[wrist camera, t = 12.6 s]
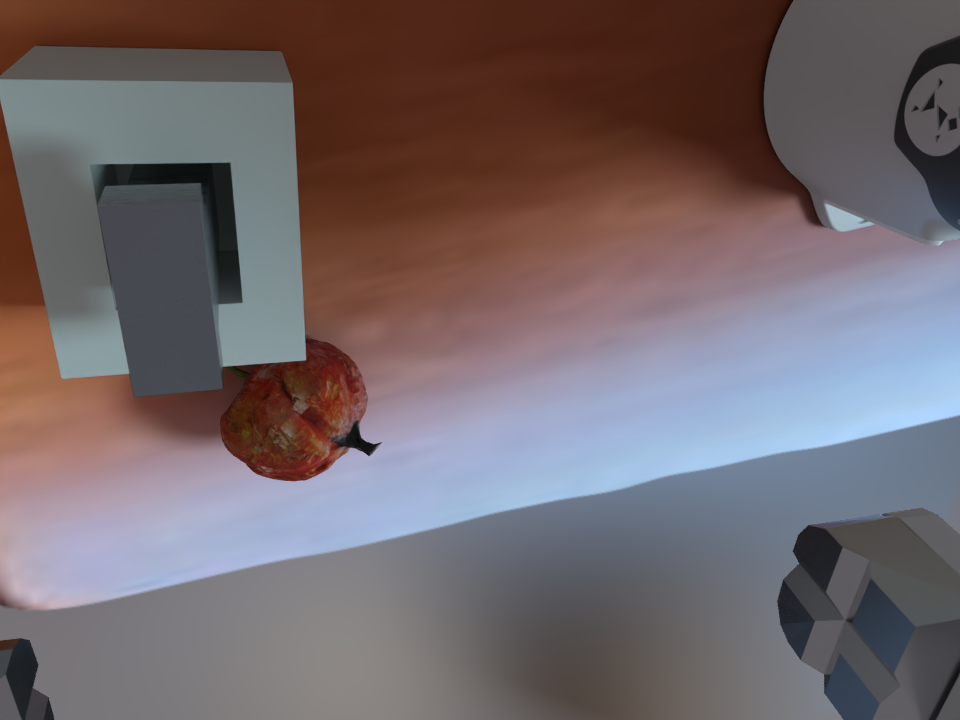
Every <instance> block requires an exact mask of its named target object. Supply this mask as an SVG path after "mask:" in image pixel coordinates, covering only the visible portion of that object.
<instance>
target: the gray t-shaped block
mask: <svg viewBox="0 0 960 720" xmlns="http://www.w3.org/2000/svg"><path fill="white" fill-rule="evenodd" d="M98 212H99V217H100V222H101V227H102V233H103V238H104V243H105V248H106V254H107V259H108V264H109V269H110V275H111V280H112V285H113V290H114V296H115V301H116V306H117V311H118V317H119V322H120V327H121V332H122V338H123V343H124V348H125V353H126V359H127V364H128V369H129V374H130V380H131V385H132V390H133V395H134V397H143V396H153V395H164V394H175V393H185V392H196V391H207V390H217V389H223V359H222V351H221V343H220V335H219V223H218V215H217V206H216V197H215V189H214V180H213V171H212V163H159V164H134V166H133V169H132V172H131V175H130V178H129V181H128V184H127V185H120V186H105V188H104V190H103V193H102V196H101V198H100V201H99V203H98Z"/></svg>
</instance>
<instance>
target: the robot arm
mask: <svg viewBox="0 0 960 720" xmlns="http://www.w3.org/2000/svg"><path fill="white" fill-rule="evenodd" d="M764 113H765V121H766V126H767V131H768V134H769V138H770V141H771V143H772V146H773V148H774V150H775V152H776V154H777V156H778V157H779V159H780V161H781V162H782V163H783V165H784V166H785V167H786V168H787V170H788V171H789V172H790V173H791V174H792V175H794V176H795V177H796V178H797V179H798V180H799V181H800V182H801V183H802V184H803V185H804V186H805V187H806V188H807V189H808V191H809V192H810V194H811V197H812V201H813V204H814V207H815V210H816V213H817V216H818V218H819V220H820V222H821V223H822V224H823V225H824V226H825V227H827V228H830V229H832V230H835V231H838V232H846V231H850V230H854V229H858V228H862V227H866V226H870V225H874V224H876V225H879V226H881V227H884V228H886V229H888V230H891V231H893V232H896V233H898V234H901V235H903V236H906V237H908V238H911V239H913V240H915V241H918V242H920V243H923V244H927V245H934V246H937V245H940V244H941V243H942V242H943V241H949V240H955V239H959V238H960V0H793V2H792V4H791V6H790V7H789V9H788V11H787V13H786V15H785V17H784V19H783V21H782V23H781V25H780V28H779V30H778V33H777V35H776V38H775V41H774V43H773V47H772V50H771V53H770V57H769V61H768V66H767V71H766V77H765V86H764ZM793 552H794V555H795V556H796V558H797V560H798V562H799V564H798V565H797V566H796V567H795V568H794V569H793V570H792V571H791V572H790V573H789V574H788V575H787V577H785V578H784V579H783V582H782V586H781V589H780V593H779V597H778V600H777V603H778V610H779V617H780V625H781V627H782V629H783V632H784V634H785V636H786V639H787V641H788V643H789V644H790V645H791V647H792V648H793V650H794V651H795V653H796V654H797V656H798V657H799V659H800V660H801V661H803V662H804V663H806V664H808V665H810V666H811V667H813V668H814V669H816V670H818V671H819V672H821V673H823V674H824V693H825V695H826V696H827V697H828V699H829V700H830V701H831V703H832V704H833V706H834V707H835V708H836V710H837V711H838V713H839V714H840V715H841V717H842V718H843V719H844V720H960V534H958V533H957V532H956V531H955V530H954V529H953V528H952V527H951V526H949V525H948V524H947V523H946V522H945V521H944V520H943V519H942V518H941V517H939V516H938V515H937V514H935V513H933V512H930V511H928V510H926V509H923V508H918V509H911V510H905V511H898V512H892V513H885V514H882V515H871V516H865V517H858V518H852V519H845V520H839V521H832V522H826V523H819V524H813V525H808V526H807V527H806V528H805V529H804V530H803V531H802V532H801V533H800V534H799V535H798V537H797V540H796V543H795V546H794V549H793ZM37 668H38V662H37V660H36V656H35V654H34V651H33V648H32V646H31V643H30V640H27V639H22V638H19V639H11V640H2V641H0V720H54V715H53V711H52V708H51V704H50V701H49V697H47V696H45V695H44V694H42V693H40V692H39V691H37V690H35V689H33V685H34V681H35V677H36V673H37Z"/></svg>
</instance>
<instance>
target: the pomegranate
mask: <svg viewBox="0 0 960 720" xmlns="http://www.w3.org/2000/svg"><path fill="white" fill-rule="evenodd" d="M305 346H306V360H304V361H290V362H277V363H264V364H260V365H259V366H257V367H255V368H254V370H253V371H252V372H251V374H249V373H246V372H244V371H242V370H240V369H238V368H236V367H234V366H227V367H228V368H229V369H231V370H232V371H233V372H235V373H236V374H237V375H239V376H240V377H242V378H244V379H247V380H246V382H245V383H244V387H243V389H242V390H241V392H240V393H238V395H237V397H236V398H235V399H234V401H233V402H232V404H231V405H230V407H229V408H228V409H227V411H226V412H225V413H224V414H223V415H222V417H221V421H220V425H221V436H222V441H223V443H224V445H225V447H226V448H227V450H228V451H229V452H230V453H231V454H232V455H233V456H235V457H237V458H238V459H239V460H241V461H243V462H244V463H246V465H247V466H248V467H249V468H250V469H251V470H252V471H253V472H255V473H256V474H258V475H261V476H264V477H267V478H272V479H277V480H284V481H300V480H308V479H310V478H312V477H314V476H317V475H318V474H320V473H322V472H324V471H326V470H327V469H328V468H329V467H330V466H331V465H332V464H333V463H334V462H335V461H336V460H337V459H338V458H340V457H341V456H342V455H344V454H345V453H347V452H348V450H349V448H351V447H352V448H356V449H358V450H360V451H363V452H364V453H366V454H367V455H368V456H370V455H371V454H372V453H373V452H374V451H375V450H376V449H377V447H378V446H379V445H380V444H381V443H382V442H381V443H378V444H371V443H369V442H366V441H364V440H363V439H362V438H361V435H360V431H359V423H360V421H361V419H362V417H363V415H364V413H365V411H366V406H367V401H368V396H367V393H366V388H365V385H364V381H363V378H362V375H361V373H360V371H359V369H358V368H357V366H356V364H355V362H353V361H352V359H351V358H350V357H349V356H348V355H346V354H344V353H343V352H342V351H341V350H339V349H337V348H336V347H335V346H333V345H331V344H329V343H326V342H321V341H317V340H313V339H306V340H305Z"/></svg>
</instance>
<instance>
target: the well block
mask: <svg viewBox="0 0 960 720" xmlns="http://www.w3.org/2000/svg"><path fill="white" fill-rule="evenodd" d="M0 101H1V106H2V111H3V115H4V120H5V124H6V129H7V133H8V138H9V142H10V147H11V151H12V156H13V160H14V165H15V169H16V174H17V179H18V183H19V188H20V192H21V197H22V201H23V206H24V210H25V215H26V219H27V224H28V228H29V233H30V237H31V242H32V247H33V251H34V256H35V260H36V265H37V269H38V274H39V278H40V283H41V287H42V292H43V296H44V301H45V305H46V310H47V315H48V319H49V324H50V328H51V333H52V337H53V342H54V346H55V351H56V355H57V360H58V364H59V369H60V373H61V378H62V379H66V378H79V377H92V376H105V375H119V374H129V369H128V364H127V359H126V353H125V348H124V343H123V338H122V332H121V327H120V322H119V317H118V311H117V306H116V301H115V296H114V290H113V285H112V280H111V275H110V269H109V264H108V259H107V254H106V248H105V243H104V238H103V233H102V227H101V222H100V217H99V212H98V203H99V201H100V198H101V196H102V193H103V190H104V188H105V186H120V185H127V184H128V181H129V178H130V175H131V172H132V169H133V166H134V164H159V163H212V171H213V180H214V189H215V197H216V206H217V215H218V223H219V335H220V343H221V351H222V359H223V367H224V366H238V365H251V364H264V363H277V362H290V361H304V360H306V346H305V325H304V305H303V284H302V264H301V243H300V223H299V202H298V181H297V161H296V140H295V120H294V99H293V82H292V79H291V77H290V74H289V71H288V68H287V65H286V62H285V60H284V57H283V54H282V51H247V50H200V49H154V48H107V47H60V46H34V47H33V48H32V49H31V50H30V51H28V52H27V53H26V54H25V55H24V56H22V57H21V58H20V59H19V60H18V61H17V62H15V63H14V64H13V65H12V66H11V67H10V68H8V69H7V70H6V71H5V72H4V73H2V74H1V75H0Z"/></svg>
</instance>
